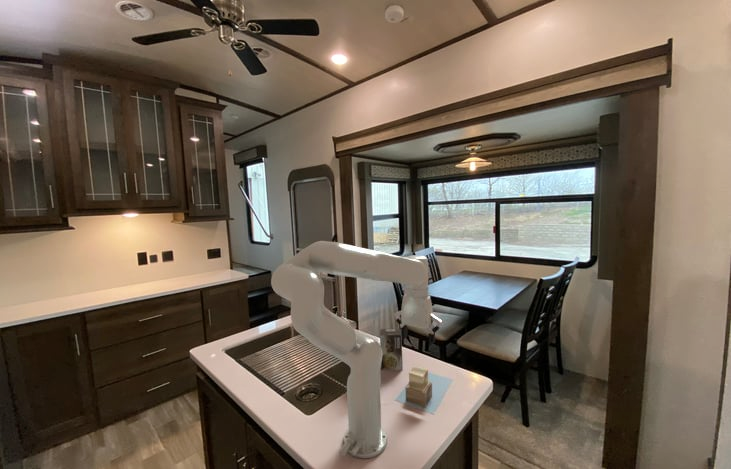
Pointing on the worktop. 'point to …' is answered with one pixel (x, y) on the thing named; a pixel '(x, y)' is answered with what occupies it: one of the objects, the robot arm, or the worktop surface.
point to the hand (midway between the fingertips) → (417, 340)
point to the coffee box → (391, 349)
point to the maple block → (418, 378)
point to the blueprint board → (436, 393)
